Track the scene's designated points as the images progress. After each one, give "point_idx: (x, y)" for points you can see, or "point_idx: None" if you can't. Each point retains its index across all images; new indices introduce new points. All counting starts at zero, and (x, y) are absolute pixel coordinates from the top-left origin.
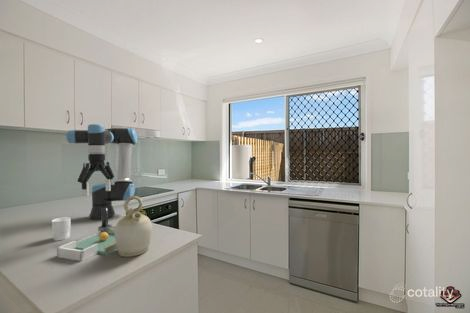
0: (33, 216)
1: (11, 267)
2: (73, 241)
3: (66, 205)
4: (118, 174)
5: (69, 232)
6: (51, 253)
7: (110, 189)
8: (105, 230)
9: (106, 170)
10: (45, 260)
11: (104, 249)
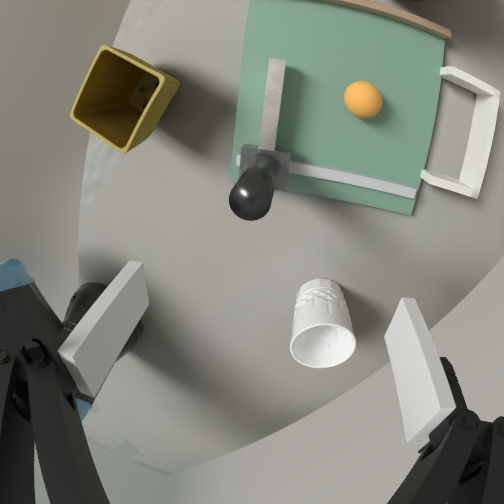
0: (184, 439)
1: (493, 256)
2: (435, 181)
3: (106, 423)
4: None
5: (310, 290)
6: (439, 226)
7: (124, 268)
8: (282, 149)
9: (31, 484)
10: (476, 205)
11: (432, 47)
